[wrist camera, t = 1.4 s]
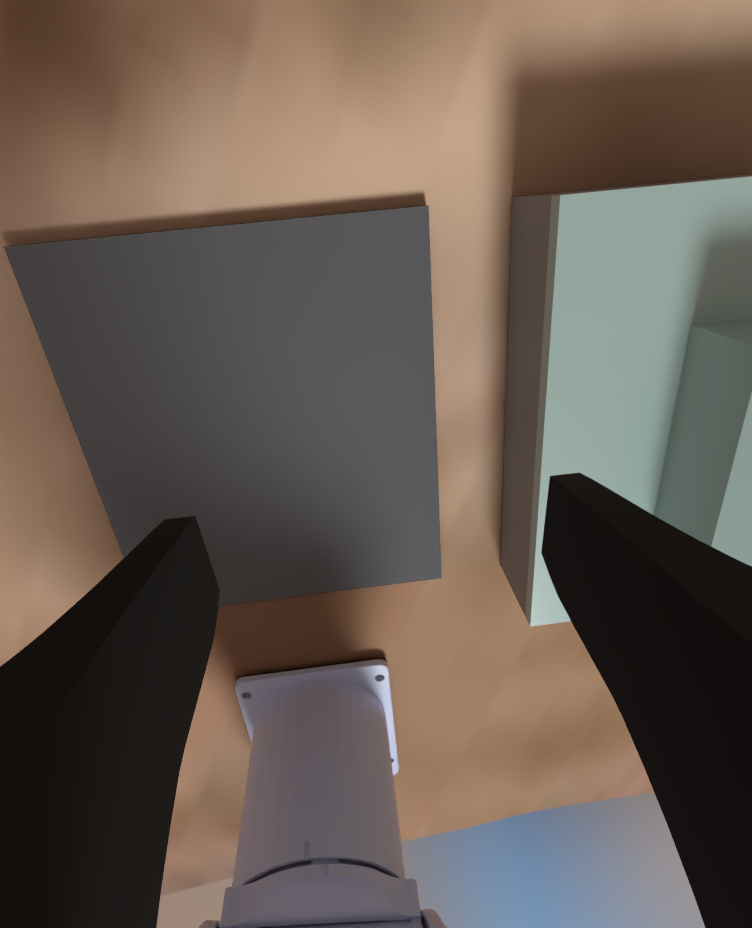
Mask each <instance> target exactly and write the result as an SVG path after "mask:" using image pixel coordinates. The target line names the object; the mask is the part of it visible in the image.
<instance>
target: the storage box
mask: <svg viewBox="0 0 752 928" xmlns="http://www.w3.org/2000/svg"><path fill="white" fill-rule="evenodd" d="M746 176H752V174H744V175H734V176H723V177H713V178H703V179H693V180H683V181H672V182H662V183H652V184H642V185H631V186H621V187H611V188H601V189H590V190H580V191H570V192H560V193H549V194H539V195H529V196H519V197H512V213H511V245H510V277H509V309H508V340H507V372H506V404H505V436H504V467H503V499H502V531H501V563H500V565H501V567H502V569H503V571H504V573H505V576H506V578H507V580H508V582H509V584H510V586H511V588H512V590H513V592H514V594H515V596H516V598H517V600H518V602H519V604H520V606H521V608H522V610H523V613H524V615H525V612H526V596H527V581H528V565H529V549H530V533H531V517H532V501H533V485H534V469H535V453H536V438H537V422H538V406H539V390H540V374H541V358H542V342H543V326H544V310H545V294H546V279H547V263H548V247H549V231H550V215H551V199H552V195H562V194H572V193H582V192H592V191H603V190H613V189H623V188H633V187H644V186H654V185H664V184H674V183H684V182H695V181H705V180H715V179H725V178H736V177H746Z"/></svg>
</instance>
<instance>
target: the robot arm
mask: <svg viewBox="0 0 752 928" xmlns="http://www.w3.org/2000/svg"><path fill="white" fill-rule="evenodd" d="M541 554H542V556H543V559H544V562H545V565H546V567H547V570H548V573H549V575H550V578H551V580H552V583H553V585H554V588H555V590H556V593H557V595H558V597H559V599H560V601H561V603H562V605H563V607H564V609H565V610H566V612H567V614H568V616H569V618H570V620H571V622H572V623H573V625H574V627H575V629H576V631H577V633H578V634H579V636H580V638H581V640H582V642H583V643H584V645H585V647H586V649H587V651H588V652H589V654H590V656H591V658H592V660H593V662H594V663H595V665H596V667H597V669H598V671H599V672H600V674H601V676H602V678H603V680H604V681H605V683H606V685H607V687H608V689H609V691H610V692H611V694H612V696H613V698H614V700H615V702H616V704H617V706H618V708H619V710H620V712H621V714H622V716H623V719H624V721H625V723H626V726H627V728H628V730H629V733H630V735H631V737H632V740H633V742H634V744H635V747H636V749H637V751H638V754H639V756H640V758H641V761H642V763H643V765H644V768H645V770H646V772H647V775H648V777H649V780H650V782H651V785H652V787H653V790H654V792H655V795H656V797H657V800H658V802H659V804H660V807H661V809H662V812H663V815H664V817H665V820H666V822H667V824H668V827H669V829H670V832H671V835H672V838H673V840H674V843H675V846H676V848H677V851H678V853H679V856H680V859H681V861H682V864H683V867H684V869H685V872H686V875H687V877H688V880H689V883H690V885H691V888H692V891H693V893H694V896H695V899H696V901H697V905H698V907H699V910H700V913H701V916H702V919H703V922H704V925H705V927H706V928H752V566H749V565H747V564H745V563H743V562H741V561H739V560H737V559H735V558H733V557H731V556H729V555H727V554H725V553H723V552H721V551H719V550H717V549H715V548H713V547H711V546H709V545H707V544H705V543H703V542H701V541H699V540H697V539H696V538H694V537H692V536H690V535H688V534H686V533H684V532H683V531H681V530H679V529H677V528H675V527H674V526H672V525H670V524H668V523H666V522H665V521H663V520H661V519H659V518H658V517H656V516H654V515H652V514H651V513H649V512H647V511H646V510H644V509H642V508H640V507H639V506H637V505H635V504H634V503H632V502H630V501H629V500H627V499H625V498H624V497H622V496H620V495H619V494H617V493H615V492H613V491H612V490H610V489H608V488H607V487H605V486H603V485H602V484H600V483H598V482H596V481H595V480H593V479H591V478H589V477H587V476H585V475H583V474H581V473H571V474H562V475H554V476H550V479H549V488H548V497H547V506H546V515H545V524H544V533H543V541H542V550H541ZM219 594H220V589H219V586H218V583H217V580H216V577H215V574H214V571H213V568H212V565H211V562H210V559H209V556H208V553H207V550H206V547H205V544H204V540H203V537H202V534H201V531H200V528H199V525H198V522H197V519H196V516H190V517H181V518H172V519H165V520H164V521H163V522H161V523H160V524H159V525H158V526H157V527H156V528H155V529H154V530H153V531H151V532H150V533H149V534H148V535H147V536H146V537H145V538H144V539H143V540H142V541H141V542H140V543H139V544H138V545H137V546H136V547H135V548H134V549H133V550H132V551H131V552H130V553H129V554H128V555H127V556H126V557H125V558H124V559H123V560H122V561H121V562H120V563H119V564H118V565H117V566H115V567H114V568H113V569H112V570H111V571H110V572H109V573H108V574H107V575H106V576H105V577H104V578H103V579H102V580H101V581H100V582H99V583H98V584H97V585H96V586H95V587H94V588H93V589H92V590H90V591H89V592H88V593H87V594H86V595H85V596H84V597H83V598H82V599H80V600H79V601H78V602H77V603H76V604H75V605H74V606H73V607H71V608H70V609H69V610H68V611H67V612H66V613H65V614H64V615H62V616H61V617H60V618H59V619H58V620H57V621H56V622H55V623H53V624H52V625H51V626H50V627H49V628H48V629H47V630H45V631H44V632H43V633H42V634H41V635H40V636H38V637H37V638H36V639H35V640H34V641H32V642H31V643H30V644H29V645H28V646H26V647H25V648H24V649H23V650H21V651H20V652H19V653H18V654H16V655H15V656H14V657H13V658H11V659H10V660H9V661H7V662H6V663H5V664H3V665H2V666H1V667H0V928H156V925H157V917H158V908H159V901H160V893H161V886H162V879H163V872H164V865H165V858H166V851H167V844H168V838H169V831H170V824H171V818H172V812H173V806H174V800H175V794H176V788H177V782H178V776H179V771H180V766H181V762H182V758H183V753H184V749H185V744H186V741H187V737H188V733H189V730H190V726H191V722H192V718H193V715H194V711H195V707H196V704H197V700H198V696H199V692H200V689H201V685H202V681H203V678H204V674H205V670H206V666H207V662H208V659H209V655H210V651H211V647H212V643H213V639H214V634H215V627H216V620H217V612H218V603H219ZM235 692H236V695H237V698H238V701H239V704H240V708H241V711H242V714H243V717H244V721H245V724H246V727H247V730H248V734H249V737H250V740H251V743H252V746H251V753H250V760H249V767H248V775H247V782H246V789H245V797H244V804H243V811H242V819H241V826H240V833H239V841H238V848H237V855H236V862H235V870H234V877H233V884H232V887H228V888H226V889H225V895H224V902H223V908H222V915H221V922H220V924H219V921H211V920H207V921H204V922H203V923H202V924H201V926H200V927H199V928H447V927H446V926H445V925H444V923H443V922H442V920H441V918H440V917H439V915H438V914H437V913H436V911H434V910H432V909H424V910H420V906H419V899H418V892H417V884H416V880H415V879H405V873H404V864H403V856H402V847H401V838H400V830H399V821H398V813H397V805H396V796H395V788H394V779H393V775H395V774H396V773H397V772H398V771H399V765H398V756H397V746H396V737H395V728H394V718H393V709H392V699H391V690H390V681H389V671H388V664H387V662H386V661H384V660H381V659H376V660H368V661H361V662H353V663H346V664H338V665H331V666H323V667H315V668H308V669H300V670H293V671H285V672H278V673H270V674H262V675H255V676H247V677H242V678H239V679H238V680H237V681H236V684H235ZM245 692H248V693H245Z"/></svg>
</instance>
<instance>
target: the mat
mask: <svg viewBox="0 0 752 928" xmlns="http://www.w3.org/2000/svg"><path fill="white" fill-rule="evenodd" d="M4 248H5V251H6V253H7V256H8V259H9V261H10V264H11V266H12V269H13V271H14V274H15V277H16V279H17V282H18V284H19V287H20V290H21V292H22V295H23V297H24V300H25V302H26V305H27V308H28V310H29V313H30V315H31V318H32V321H33V323H34V326H35V328H36V331H37V334H38V336H39V339H40V341H41V344H42V346H43V349H44V352H45V354H46V357H47V359H48V362H49V365H50V367H51V370H52V372H53V375H54V378H55V380H56V383H57V385H58V388H59V390H60V393H61V396H62V398H63V401H64V403H65V406H66V409H67V411H68V414H69V416H70V419H71V421H72V424H73V427H74V429H75V432H76V434H77V437H78V440H79V442H80V445H81V447H82V450H83V453H84V455H85V458H86V460H87V463H88V465H89V468H90V471H91V473H92V476H93V478H94V481H95V484H96V486H97V489H98V491H99V494H100V496H101V499H102V502H103V504H104V507H105V509H106V512H107V515H108V517H109V520H110V522H111V525H112V528H113V530H114V533H115V535H116V538H117V540H118V543H119V546H120V548H121V551H122V553H123V556H124V558H125V557H126V556H127V555H128V554H129V553H130V552H131V551H132V550H133V549H134V548H135V547H136V546H137V545H138V544H139V543H140V542H141V541H142V540H143V539H144V538H145V537H146V536H147V535H148V534H149V533H150V532H151V531H153V530H154V529H155V528H156V527H157V526H158V525H159V524H160V523H161V522H163V521H164V520H165V519H172V518H181V517H190V516H196V519H197V522H198V525H199V528H200V531H201V534H202V537H203V540H204V544H205V547H206V550H207V553H208V556H209V559H210V562H211V565H212V568H213V571H214V574H215V577H216V580H217V583H218V586H219V589H220V594H219V603H218V606H224V605H232V604H240V603H248V602H256V601H264V600H272V599H280V598H288V597H295V596H303V595H311V594H319V593H327V592H335V591H343V590H351V589H359V588H367V587H374V586H382V585H390V584H398V583H406V582H414V581H422V580H430V579H438V578H441V551H440V523H439V494H438V466H437V437H436V409H435V380H434V352H433V323H432V295H431V266H430V238H429V209H428V206H416V207H406V208H396V209H386V210H375V211H365V212H355V213H345V214H334V215H324V216H314V217H304V218H293V219H283V220H273V221H263V222H252V223H242V224H232V225H222V226H211V227H201V228H191V229H181V230H171V231H160V232H150V233H140V234H130V235H119V236H109V237H99V238H89V239H78V240H68V241H58V242H48V243H37V244H27V245H17V246H8V247H4Z"/></svg>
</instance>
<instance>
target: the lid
mask: <svg viewBox="0 0 752 928" xmlns="http://www.w3.org/2000/svg"><path fill="white" fill-rule="evenodd" d="M571 473H581V474H583V475H585V476H587V477H589V478H591V479H593V480H595V481H596V482H598V483H600V484H602V485H603V486H605V487H607V488H608V489H610V490H612V491H613V492H615V493H617V494H619V495H620V496H622V497H624V498H625V499H627V500H629V501H630V502H632V503H634V504H635V505H637V506H639V507H640V508H642V509H644V510H646V511H647V512H649V513H651V514H652V515H654V516H656V517H658V518H659V519H661V520H663V521H665V522H666V523H668V524H670V525H672V526H674V527H675V528H677V529H679V530H681V531H683V532H684V533H686V534H688V535H690V536H692V537H694V538H696V539H697V540H699V541H701V542H703V543H705V544H707V545H709V546H711V547H713V548H715V549H717V550H719V551H721V552H723V553H725V554H727V555H729V556H731V557H733V558H735V559H737V560H739V561H741V562H743V563H745V564H747V565H749V566H752V176H746V177H736V178H725V179H715V180H705V181H695V182H684V183H674V184H664V185H654V186H644V187H633V188H623V189H613V190H603V191H592V192H582V193H572V194H562V195H552V199H551V215H550V231H549V247H548V263H547V279H546V294H545V310H544V326H543V342H542V358H541V374H540V390H539V406H538V422H537V438H536V453H535V469H534V485H533V501H532V517H531V533H530V549H529V565H528V581H527V596H526V612H525V617H526V619H527V621H528V623H529V625H530V626H537V625H545V624H553V623H560V622H568V621H571V620H570V618H569V616H568V614H567V612H566V610H565V609H564V607H563V605H562V603H561V601H560V599H559V597H558V595H557V593H556V590H555V588H554V585H553V583H552V580H551V578H550V575H549V573H548V570H547V567H546V565H545V562H544V559H543V556H542V554H541V550H542V541H543V533H544V524H545V515H546V506H547V497H548V488H549V479H550V476H554V475H562V474H571Z"/></svg>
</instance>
